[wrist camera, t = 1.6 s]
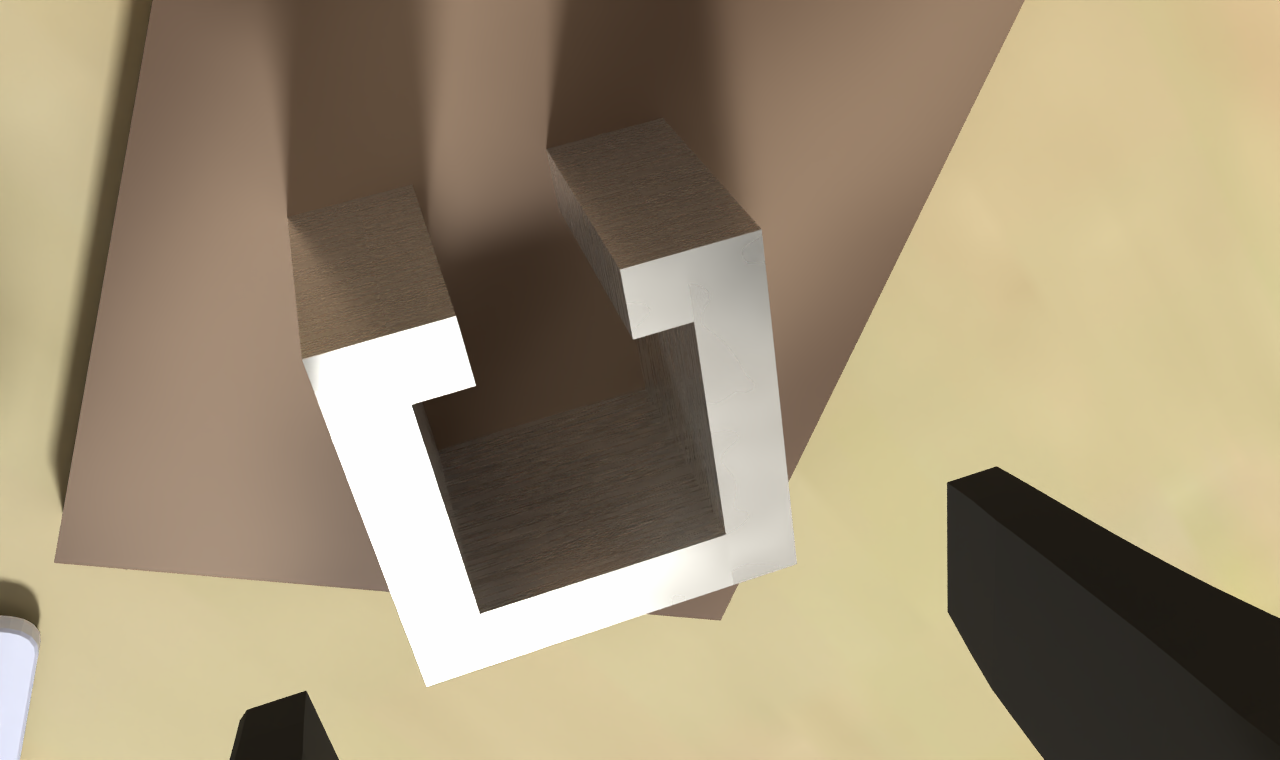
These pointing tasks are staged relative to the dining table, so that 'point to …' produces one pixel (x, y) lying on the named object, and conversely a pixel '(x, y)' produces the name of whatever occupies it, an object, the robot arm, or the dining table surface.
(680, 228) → the grey slotted block
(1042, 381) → the dining table surface
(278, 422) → the base board
